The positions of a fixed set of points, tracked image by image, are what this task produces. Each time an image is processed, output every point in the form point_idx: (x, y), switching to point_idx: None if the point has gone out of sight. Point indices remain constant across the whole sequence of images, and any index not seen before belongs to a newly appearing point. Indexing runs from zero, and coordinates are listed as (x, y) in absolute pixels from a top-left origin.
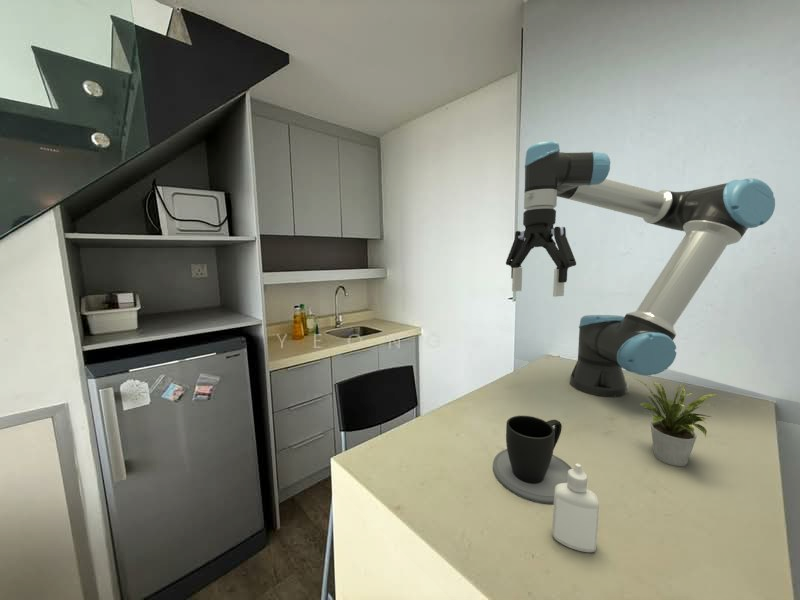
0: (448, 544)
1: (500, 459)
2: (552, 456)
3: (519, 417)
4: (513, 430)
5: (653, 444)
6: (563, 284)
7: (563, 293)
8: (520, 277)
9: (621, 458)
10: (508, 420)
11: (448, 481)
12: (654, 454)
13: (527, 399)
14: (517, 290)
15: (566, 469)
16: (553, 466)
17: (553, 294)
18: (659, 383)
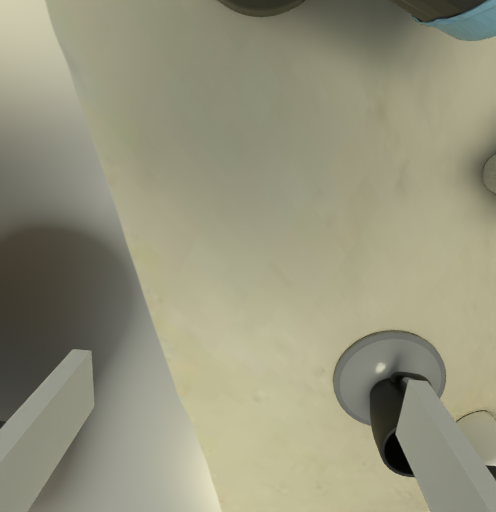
0: (397, 506)
1: (347, 401)
2: (388, 339)
3: (387, 439)
4: (408, 474)
5: (493, 189)
6: (460, 439)
7: (433, 393)
8: (37, 430)
9: (450, 243)
10: (385, 461)
11: (333, 464)
12: (485, 185)
13: (220, 194)
14: (90, 383)
15: (417, 348)
16: (402, 357)
17: (401, 441)
18: None
